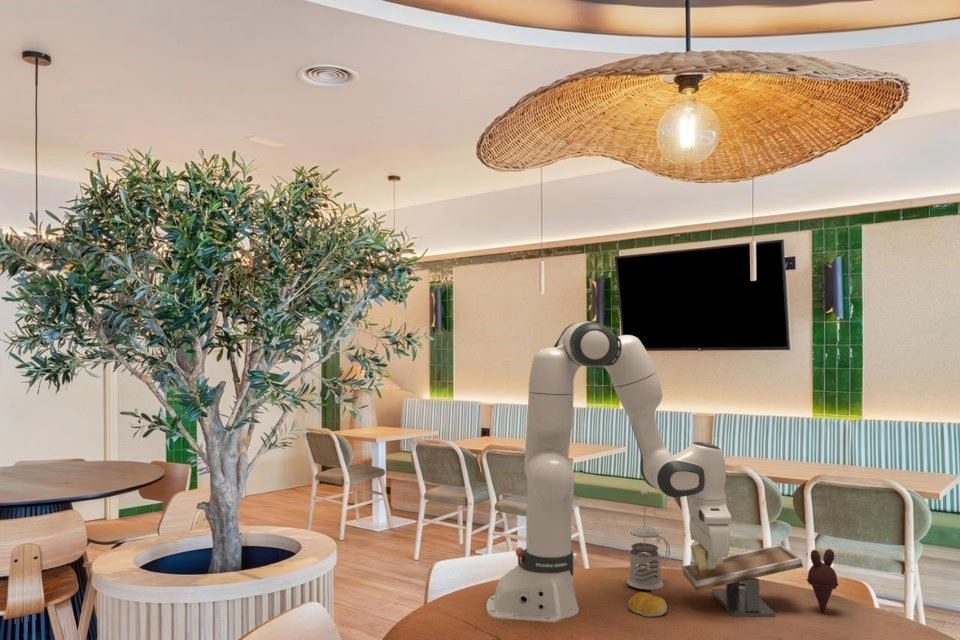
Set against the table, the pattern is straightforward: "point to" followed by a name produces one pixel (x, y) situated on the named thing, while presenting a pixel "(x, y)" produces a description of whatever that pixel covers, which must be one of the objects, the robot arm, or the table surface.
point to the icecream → (822, 577)
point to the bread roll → (647, 604)
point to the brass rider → (705, 562)
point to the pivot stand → (743, 600)
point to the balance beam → (746, 566)
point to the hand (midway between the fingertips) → (707, 564)
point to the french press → (645, 558)
